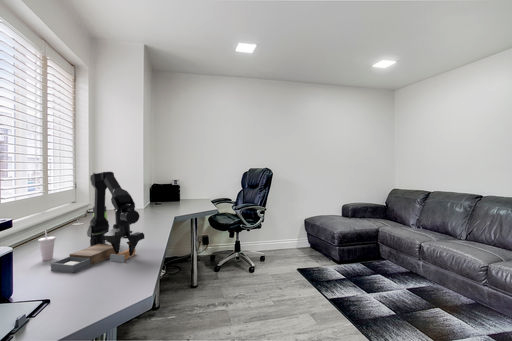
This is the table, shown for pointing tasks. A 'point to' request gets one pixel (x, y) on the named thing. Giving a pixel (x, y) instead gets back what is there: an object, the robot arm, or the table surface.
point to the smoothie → (47, 246)
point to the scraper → (120, 256)
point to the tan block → (95, 253)
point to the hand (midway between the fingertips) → (124, 255)
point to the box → (64, 267)
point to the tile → (72, 263)
